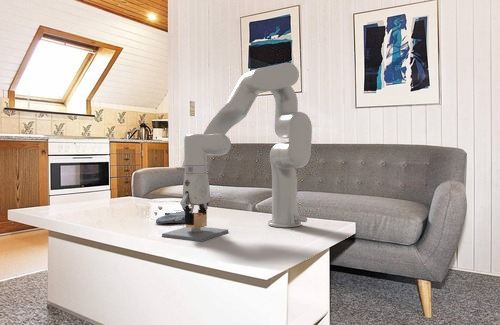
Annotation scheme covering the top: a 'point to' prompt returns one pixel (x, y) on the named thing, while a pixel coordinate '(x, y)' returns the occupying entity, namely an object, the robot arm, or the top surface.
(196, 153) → the robot arm
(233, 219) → the top surface
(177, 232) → the grey square base plate
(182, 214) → the fossil
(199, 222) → the ring
